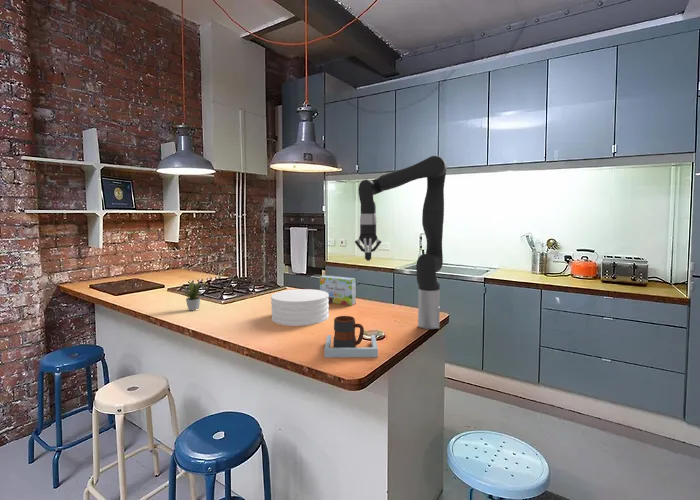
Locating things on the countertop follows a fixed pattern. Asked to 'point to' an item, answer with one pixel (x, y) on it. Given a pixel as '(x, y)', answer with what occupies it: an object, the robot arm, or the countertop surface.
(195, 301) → the house plant
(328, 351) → the dock bay
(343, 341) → the mug
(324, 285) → the snack box
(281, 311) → the plate stack
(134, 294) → the countertop surface
